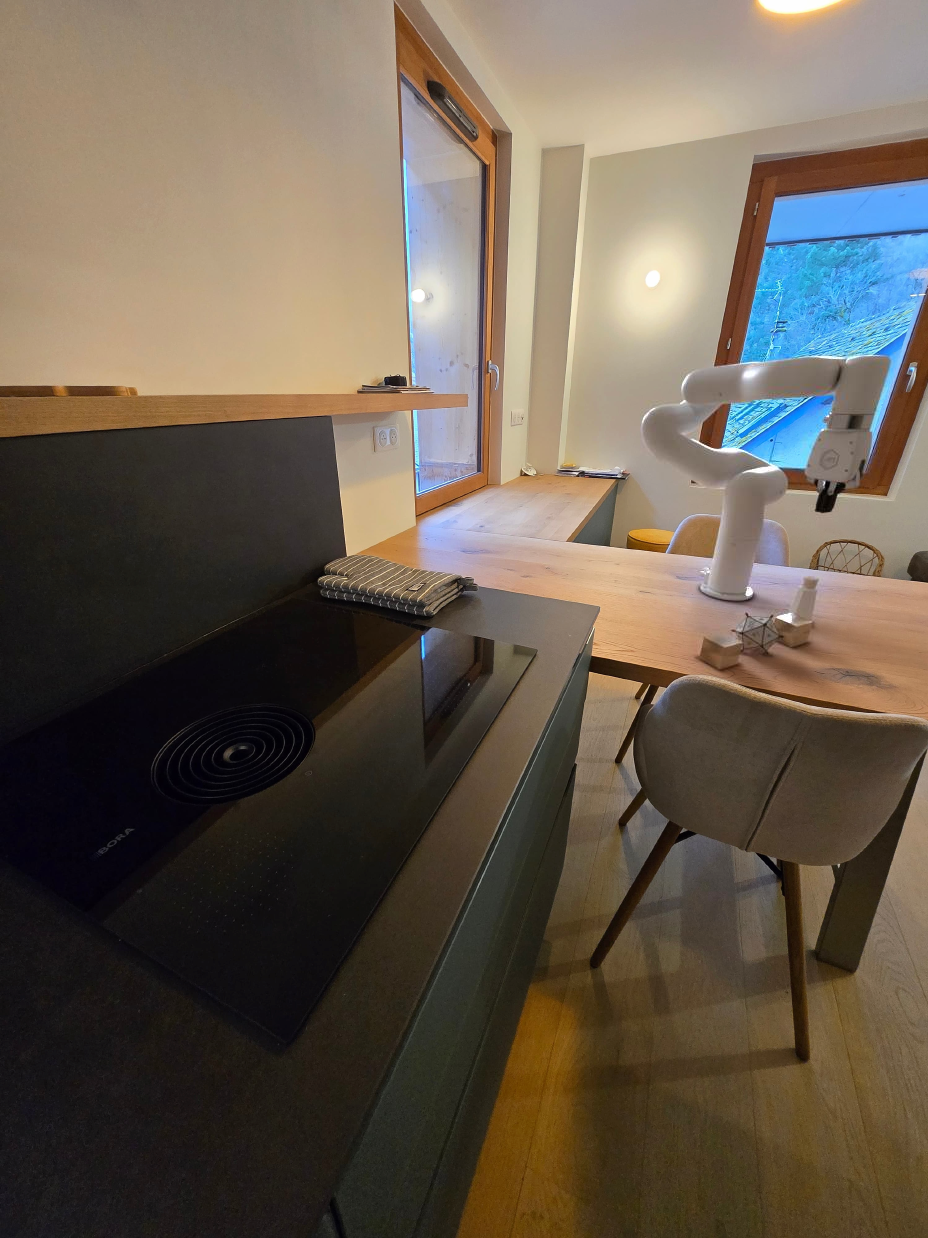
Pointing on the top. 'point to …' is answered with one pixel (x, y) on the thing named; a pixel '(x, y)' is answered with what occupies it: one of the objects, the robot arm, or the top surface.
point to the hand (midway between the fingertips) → (823, 511)
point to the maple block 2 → (792, 629)
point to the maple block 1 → (720, 650)
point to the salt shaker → (805, 598)
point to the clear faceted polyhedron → (757, 633)
